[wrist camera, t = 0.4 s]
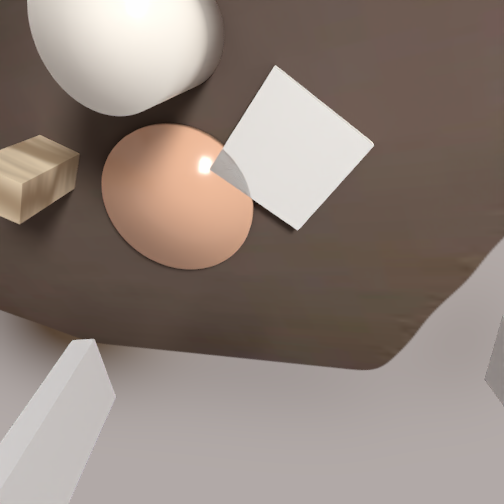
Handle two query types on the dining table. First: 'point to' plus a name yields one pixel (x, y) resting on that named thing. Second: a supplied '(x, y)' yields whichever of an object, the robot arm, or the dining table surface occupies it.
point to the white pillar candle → (127, 49)
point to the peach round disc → (175, 196)
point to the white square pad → (291, 149)
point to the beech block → (34, 176)
